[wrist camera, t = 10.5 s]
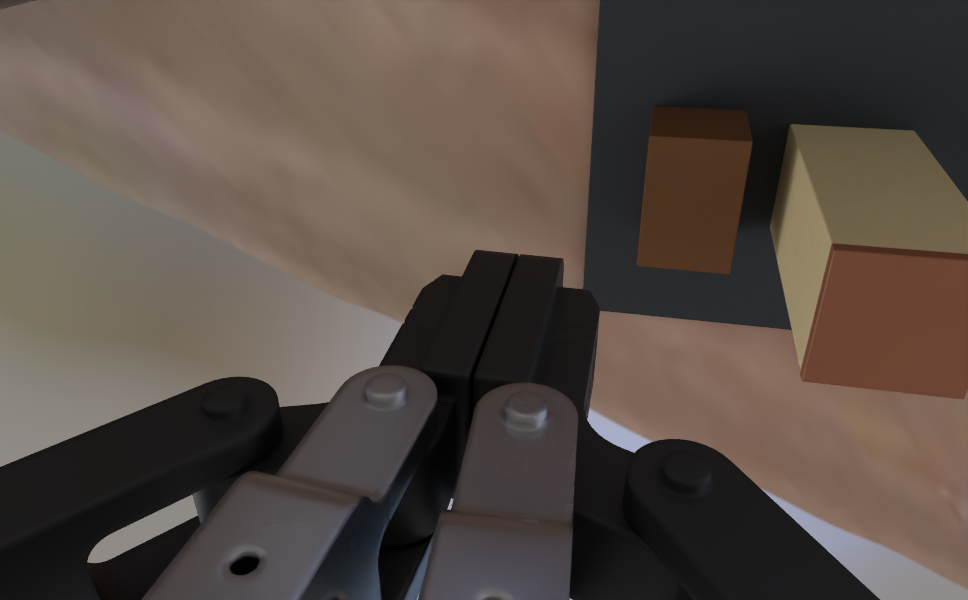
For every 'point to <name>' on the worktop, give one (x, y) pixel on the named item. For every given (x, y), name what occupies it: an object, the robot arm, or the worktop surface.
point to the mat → (780, 93)
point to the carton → (873, 261)
